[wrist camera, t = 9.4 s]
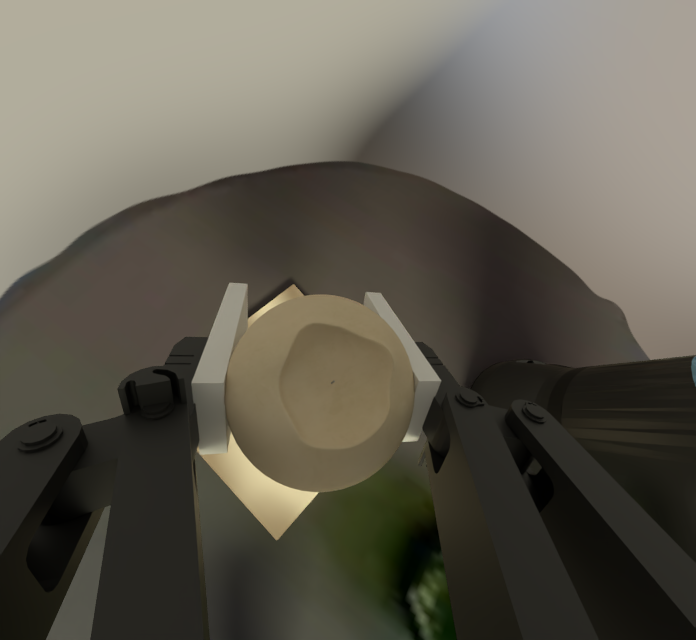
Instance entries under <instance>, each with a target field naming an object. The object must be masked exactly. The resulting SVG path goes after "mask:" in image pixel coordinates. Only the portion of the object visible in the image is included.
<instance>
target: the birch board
mask: <svg viewBox="0 0 696 640" xmlns="http://www.w3.org/2000/svg"><path fill="white" fill-rule="evenodd" d="M301 296H304V295H303V294H302V293H301V292H300V290H299V289H298V288H297V287H296V286H295V285H294V284H293V285H292V286H290V287H289V288H288V289H286V290H285V291H284V292H282V293H281V294H280V295H278V296H277V297H276V298H275V299H273V300H272V301H271V302H269V303H268V304H267V305H265V306H264V307H263V308H261V309H260V310H259V311H257V312H256V313H255V314H253V315H252V316H251V317H250V318H248V328H249V327H250V326H251V325H252V324H253V323H254V322H255V321H256V320H257V319H258V318H259V317H260V316H262V315H263V314H264V313H266V312H267V311H268V310H270V309H272V308H273V307H275V306H277V305H278V304H281V303H283V302H285V301H288V300H290V299H294V298H298V297H301ZM197 452H198V453H199V445H198V448H197ZM199 454H200V453H199ZM201 456H202V457H203V458H204V460H205V461H206V462H207V463H208V464H209V465H210V466H211V467H212V469H213V470H214V471H215V472H216V473H217V474H218V475H219V476H220V478H221V479H222V480H223V481H224V482H225V483H226V484H227V485H228V487H229V488H230V489H231V490H232V491H233V492H234V493H235V494H236V496H237V497H238V498H239V499H240V500H241V501H242V502H243V503H244V505H245V506H246V507H247V508H248V509H249V510H250V511H251V512H252V514H253V515H254V516H255V517H256V518H257V519H258V520H259V521H260V523H261V524H262V525H263V526H264V527H265V528H266V529H267V530H268V531H269V533H270V534H271V535H272V536H273V537H274V538H275V539H276V540H278V539H279V538H280V536H281V535H282V534H283V533H284V532H285V531H286V529H287V528H288V527H289V526H290V525H291V524H292V523H293V521H294V520H295V519H296V518H297V517H298V516H299V514H300V513H301V512H302V511H303V510H304V509H305V508H306V506H307V505H308V504H309V503H310V502H311V501H312V499H313V498H314V497H315V496H316V495H317V494H318V493H319V492H308V491H301V490H297V489H293V488H289V487H287V486H284V485H282V484H280V483H277V482H275V481H274V480H272V479H270V478H269V477H267V476H266V475H264V474H263V473H262V472H260V471H259V470H258V469H257V468H256V467H255V466H253V464H252V463H251V462H250V461H249V460H248V459H247V458H246V457H245V455H244V454H243V452H242V451H241V449H240V448H239V446H238V445H237V443H236V441H235V439H234V437H233V435H232V432H231V434H230V440H229V446H228V452H227V453H221V454H205V455H201Z"/></svg>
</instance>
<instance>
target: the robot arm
mask: <svg viewBox="0 0 696 640" xmlns="http://www.w3.org/2000/svg"><path fill="white" fill-rule="evenodd" d="M363 305H364V306H366V307H368V308H369V309H371V310H372V311H374V312H375V313H377V314H378V315H379V316H380V317H381V318H382V319H384V320H385V321H386V322H387V324H388V325H389V326H390V327H391V328H392V329H393V330H394V332H395V333H396V334H397V336H398V337H399V339H400V341H401V342H402V344H403V346H404V348H405V350H406V352H407V355H408V357H409V360H410V363H411V367H412V371H413V377H414V388H415V398H414V408H413V413H412V418H411V421H410V424H409V428H408V430H407V432H406V435H405V437H404V439H403V441H402V442H409V441H418V439H419V437H420V434H421V432H422V429H423V431H424V433H425V435H426V436H427V438H428V439H427V441H426V443H425V446H424V448H423V451H422V453H421V455H420V458H419V463H418V465H420V466H422V463H423V461H424V459H425V457H426V463H427V464H426V467H427V468H428V474H429V480H430V486H431V491H432V497H433V503H434V509H435V515H436V520H437V526H438V532H439V538H440V543H441V549H442V555H443V561H444V566H445V572H446V578H447V584H448V590H449V595H450V601H451V607H452V613H453V618H454V624H455V630H456V636H457V640H696V355H693V356H683V357H673V358H664V359H655V360H645V361H636V362H627V363H617V364H608V365H599V366H590V367H582V368H571V367H566V366H561V365H555V364H546V363H543V362H540V361H536V360H530V359H517V360H511V361H505V362H500V363H497V364H494V365H492V366H490V367H489V368H487V369H486V370H485V371H483V372H482V373H481V374H480V375H479V377H478V378H477V379H476V381H475V382H474V384H473V386H472V388H471V389H469V388H465V387H462V386H459V384H458V383H457V382H456V380H455V379H454V378H453V376H452V375H451V374H450V372H449V371H448V370H447V368H446V367H445V366H444V365H443V363H442V362H441V360H440V359H438V356H437V355H436V354H435V353H434V351H433V350H432V349H431V348H430V347H428V346H427V345H426V344H424V343H423V342H414V341H413V339H412V338H411V336H410V335H409V334H408V332H407V331H406V329H405V328H404V326H403V325H402V323H401V322H400V321H399V319H398V318H397V316H396V315H395V313H394V312H393V310H392V309H391V308H390V306H389V305H388V303H387V302H386V300H385V299H384V298H383V296H382V295H381V293H372V292H366V294H365V299H364V304H363ZM247 329H248V284H241V283H229V285H228V288H227V290H226V293H225V296H224V298H223V301H222V304H221V306H220V309H219V312H218V314H217V317H216V319H215V322H214V325H213V327H212V330H211V333H210V335H209V338H207V337H185V338H184V339H182V340H181V341H179V342H178V343H177V344H175V345H174V347H173V349H172V351H171V353H170V355H169V357H168V358H167V360H166V362H165V365H164V366H153V367H149V368H145V369H141V370H139V371H137V372H134V373H132V374H130V375H129V376H128V377H126V378H125V379H124V380H123V381H121V383H120V385H119V387H118V393H119V397H120V400H121V404H122V408H123V411H124V414H123V415H121V416H118V417H115V418H111V419H108V420H104V421H100V422H95V423H91V424H87V425H83V426H82V425H81V422H80V420H79V419H78V418H77V417H75V416H73V415H67V414H55V415H49V416H44V417H41V418H38V419H35V420H32V421H29V422H27V423H25V424H23V425H21V426H20V427H18V428H16V429H14V430H12V431H11V432H10V433H9V434H8V435H7V436H5V437H4V438H3V439H2V440H1V441H0V640H46V638H47V636H48V633H49V631H50V629H51V627H52V624H53V622H54V620H55V618H56V615H57V613H58V611H59V609H60V606H61V604H62V602H63V600H64V597H65V595H66V593H67V591H68V588H69V586H70V584H71V582H72V580H73V577H74V575H75V573H76V571H77V568H78V566H79V564H80V562H81V559H82V557H83V555H84V553H85V550H86V548H87V546H88V544H89V541H90V539H91V537H92V535H93V532H94V530H95V528H96V526H97V523H98V521H99V519H100V517H101V515H102V512H103V510H104V508H105V507H106V506H109V505H111V508H110V515H109V521H108V528H107V534H106V541H105V547H104V554H103V561H102V567H101V574H100V580H99V587H98V593H97V600H96V607H95V613H94V620H93V626H92V633H91V639H90V640H210V637H209V624H208V612H207V600H206V587H205V575H204V563H203V551H202V538H201V526H200V514H199V501H198V489H197V477H196V466H195V455H196V451H197V448H198V445H199V453H200V455H205V454H221V453H227V452H228V446H229V440H230V434H231V430H230V427H229V423H228V420H227V417H226V410H225V404H224V396H225V383H226V373H227V369H228V365H229V361H230V359H231V356H232V354H233V352H234V349H235V347H236V346H237V344H238V342H239V341H240V339H241V337H242V336H243V335H244V333H245V332H246V331H247Z"/></svg>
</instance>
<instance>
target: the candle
mask: <svg viewBox="0 0 696 640" xmlns="http://www.w3.org/2000/svg"><path fill="white" fill-rule="evenodd" d="M414 398H415V388H414V377H413V371H412V367H411V363H410V360H409V357H408V355H407V352H406V350H405V348H404V346H403V344H402V342H401V341H400V339H399V337H398V336H397V334H396V333H395V332H394V330H393V329H392V328H391V327H390V326H389V325H388V324H387V322H386V321H385V320H384V319H382V318H381V317H380V316H379V315H378V314H377V313H375V312H374V311H372V310H371V309H369V308H368V307H366V306H364V305H362V304H360V303H358V302H356V301H353V300H350V299H347V298H343V297H339V296H334V295H308V296H301V297H298V298H294V299H290V300H288V301H285V302H283V303H281V304H278V305H277V306H275V307H273V308H272V309H270V310H268V311H267V312H266V313H264V314H263V315H262V316H260V317H259V318H258V319H257V320H256V321H255V322H254V323H253V324H252V325H251V326H250V327H249V328H248V329H247V331H246V332H245V333H244V335H243V336H242V337H241V339H240V341H239V342H238V344H237V346H236V347H235V349H234V352H233V354H232V356H231V359H230V361H229V365H228V369H227V373H226V383H225V396H224V404H225V410H226V417H227V420H228V423H229V427H230V430H231V432H232V435H233V437H234V439H235V441H236V443H237V445H238V446H239V448H240V449H241V451H242V452H243V454H244V455H245V457H246V458H247V459H248V460H249V461H250V462H251V463H252V464H253V466H255V467H256V468H257V469H258V470H259V471H260V472H262V473H263V474H264V475H266V476H267V477H269V478H270V479H272V480H274V481H275V482H277V483H280V484H282V485H284V486H287V487H289V488H293V489H297V490H301V491H308V492H331V491H335V490H340V489H344V488H347V487H350V486H353V485H356V484H358V483H360V482H361V481H363V480H365V479H367V478H369V477H370V476H371V475H373V474H374V473H376V472H377V471H378V470H379V469H381V468H382V467H383V466H384V465H385V464H386V463H387V462H388V461H389V460H390V458H391V457H392V456H393V455H394V453H395V452H396V451H397V449H398V448H399V446H400V444H401V443H402V441H403V439H404V437H405V435H406V432H407V430H408V428H409V424H410V421H411V418H412V413H413V408H414Z"/></svg>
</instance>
